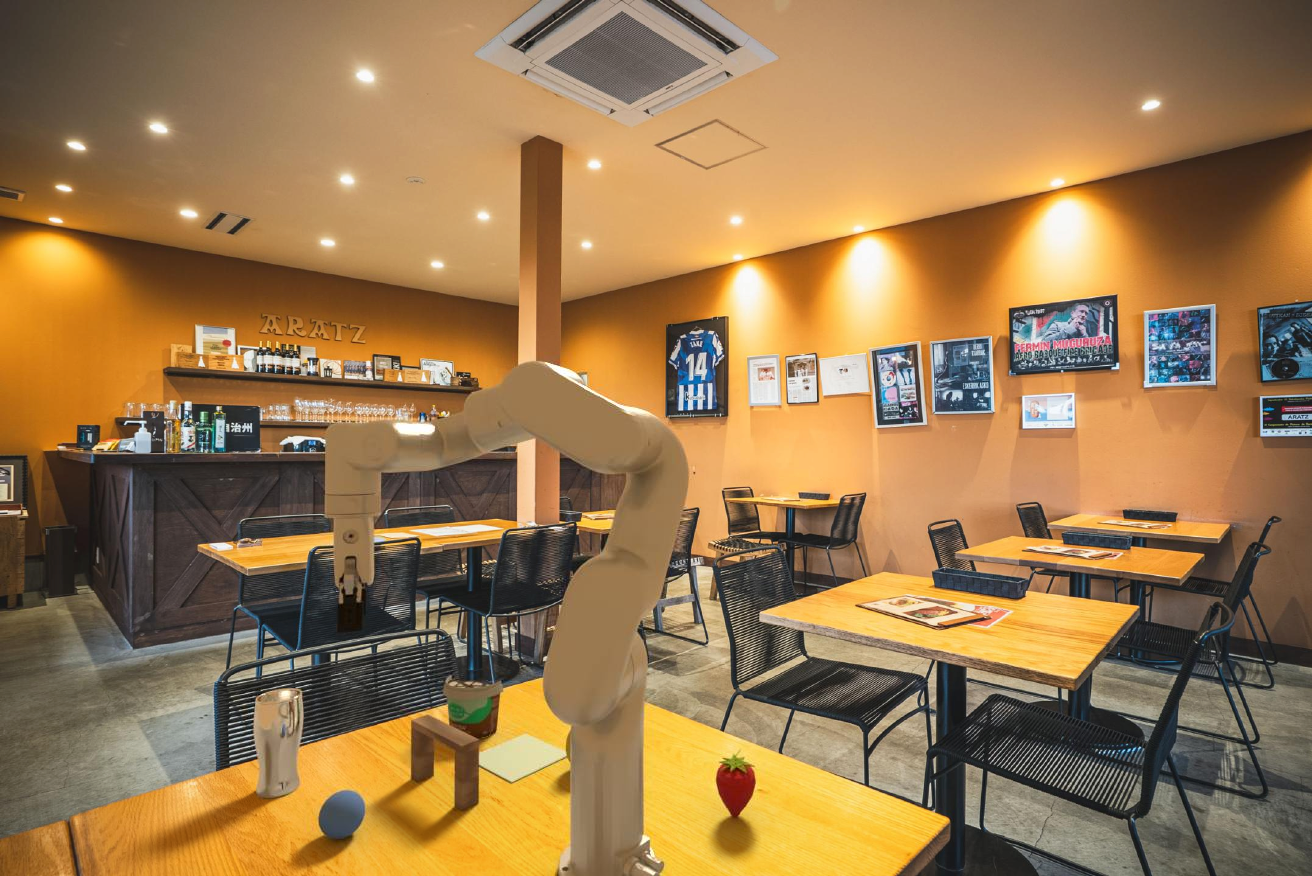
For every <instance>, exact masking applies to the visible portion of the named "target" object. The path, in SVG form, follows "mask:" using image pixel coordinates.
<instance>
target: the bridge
mask: <svg viewBox="0 0 1312 876" xmlns="http://www.w3.org/2000/svg"><path fill="white" fill-rule="evenodd" d="M410 722H411V723H410V724H411V725H410V753H411V754H410V779H411V781H413V782H414V783H420V781H421V782H423V781H425V780H427V779H430V778H431V777H432V776H433V777H434V776H435V741H436V742H438V743H440V744H442V745H444V746H445V747H448V748H449V749H451V750H453V751H454V790H453V791H454V799H453V801H454V808H456V809H457V810H460V811H461V812H462V811H465V810H468V809H470V808H471V807H473V806H475V805H477V804H480V766H479V753H480V739H477V738H475V737H473V736H471V735H469V734H467V733H465V732H463V731H461V730H458V729H456V728H454V727H452V726H450V725H449V723H446V722H444V721H442V720H440V719H438V718H436V717H434V716H431V715H429V714H425V715H422V716H419V717H416V718H413V719H411V721H410Z"/></svg>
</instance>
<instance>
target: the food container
mask: <svg viewBox="0 0 1312 876" xmlns="http://www.w3.org/2000/svg"><path fill="white" fill-rule="evenodd" d="M503 692H504V685H503V683H502V680H499V681H497V682H494V683H492V684H491V683H486V682H482V681H478V680H456V679H453V678H452V674H450V675H449V676H448V677H446V680H445V682H444V684H443V690H442V693H443V695H444V696H445V697H446V701H447V702H446V703H447V712H448V714H447V715H448V725H450V726H452V727H454V728H456V729H458V730H461V731H463V732H465V733H467V734H469V735H471V736H473V737H475V738H477V739H479V740H480V739H483V738H482V737H485V738H487V737H486V736H488V737H490V736H491V735H490V734H492V735H494V734H496V733H497V732H496V731H497V730H498V721H499V720H498V719H499V711H500V700H501V693H503ZM495 732H496V733H495ZM493 733H494V734H493ZM489 735H490V736H489Z"/></svg>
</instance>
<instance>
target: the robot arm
mask: <svg viewBox="0 0 1312 876" xmlns="http://www.w3.org/2000/svg"><path fill="white" fill-rule="evenodd" d="M324 439H325V445H324V446H325V450H324V452H325V453H324V454H325V455H324V458H325V459H324V461H325V462H324V463H325V464H324V465H325V467H324V468H325V469H324V473H325V474H324V475H325V476H324V478H325V479H324V518H327V519H333V571H334V583H335V584H334V585H335V587H337V588H339V595H338V603H337V622H336V623H337V624H336V625H337V626H336V627H337V632H338V633H339V634H340V633H341V634H343V633H350V632H351V633H352V632H360V631H362V630H363V628H364V615H366V613H367V587H366V584H367V586H371V585H372V584H373V583H374V577H375V523H374V517H378V516H381V515H382V512H381V511H382V473H391V474H392V473H405V472H406V473H407V472H425V471H426V472H427V471H433V470H437V469H441V468H445V467H448V466H451V465H456V464H459V463H463V462H467V461H470V460H472V459H475V458H477V457H480V456H483V455H487V454H489V453H490V452H493V451H496V450H499V449H502V448H506V447H509V446H512V445H516V444H520V443H523V442H527V441H530V440H534V439H537V440H539V441H540V442H542V443H544V444H546V445H547V446H549V447H550V448H551V449H552V448H553V450H556V452H557V451H558V453H561V454H563V455H564V456H565V457H567V458H569V459H570V460H572V461H574V462H576V463H578V464H579V465H581V466H582V467H585V468H587V469H589V470H591V471H594V472H596V473H599V474H604V475H618V474H619V475H620V474H625V477H626V479H625V486H624V488H623V492H622V494H621V496H620V498H619V501H618V502H617V505H616V508H615V511H614V514H613V519H612V524H611V527H610V531H609V533H608V535H607V536H608V537H607V539H606V542H605V545H604V547H603V549H602V551H601V552H600V553H599V554H597V555H595V556H593V557H591V558H590V559H588V560H586V562H584V563H583V564H582V565H580V566H579V567H578V569H577V570H576V571H575V573H574V574H573V575H572V577H571V579H570V581H569V583H568V584H567V585H568V586H567V588H566V590H565V593H564V596H563V600H562V602H561V606H560V609H559V613H558V616H557V620H556V624H555V627H554V630H553V635H552V638H551V641H550V645H549V648H548V652H547V655H546V658H545V663H544V668H543V672H542V673H543V674H542V689H543V690H542V691H543V697H544V700H545V702H546V704H547V706H548V708H549V710H550V711H551V712H552V714H553V715H554V716H555V717H556V718H557V719H558V720H559V721H561V722H562V723H563V724H566V725H569V726H570V730H571V749H570V762H569V763H570V764H569V765H570V767H569V768H570V769H569V771H570V773H569V775H570V777H569V778H570V782H569V783H570V799H569V800H570V803H569V806H570V816H569V817H570V819H569V820H570V822H569V823H570V824H569V825H570V827H569V828H570V830H569V831H570V833H569V834H570V838H569V839H570V844H569V845H568V846H567V847H566V848H565V849H564V850H563V851H562V853H561V854H560V857H559V860H558V867H557V869H558V876H661V875H660V874H661V873H662V872H663V871H664V867H665V862H664V861H663V860H661V859H660V858H658V857H656V854H655V851H654V850H653V848H652V846H651V838H650V837H648V836H647V835H645V834H644V832H645V830H644V829H645V828H644V827H645V825H644V824H645V823H644V821H645V820H644V819H645V818H644V817H645V814H644V812H645V810H644V809H645V808H644V806H645V805H644V803H645V802H644V797H645V795H644V794H645V793H644V792H645V791H644V789H645V788H644V782H645V781H644V743H645V741H644V739H645V737H644V736H645V735H644V733H645V728H644V727H645V701H646V692H647V691H646V690H647V683H648V669H649V668H648V666H649V665H648V663H649V662H648V652H647V649H646V645H645V643H644V639H642V637H641V635H640V634H639V632H638V629H639V627H640V624H641V621H642V620H644V619H645V618H646V617H647V616H648V615H649V614H651V612H652V611H653V610H654V609H655V608H656V607H657V604H658V603H659V601H660V599H661V596H662V595H663V594H662V593H663V588H664V586H665V585H664V584H665V580H666V576H667V572H668V569H669V565H670V561H671V558H672V554H673V551H674V546H675V543H676V539H677V535H678V530H679V526H680V523H681V519H682V516H683V514H684V513H683V512H684V508H685V505H686V500H687V496H688V490H689V482H690V481H689V480H690V479H689V478H690V473H689V472H690V470H689V463H688V458H687V455H686V451H685V449H684V447H683V445H682V442H681V441H680V439H679V438H678V436H677V435H676V434H675V432H674V431H673V429H671V427H670V426H669V425H667V423H665V422H664V421H663V420H662V419H660V418H659V417H657V416H656V415H654V414H653V413H651V412H649V411H646V410H643V409H640V408H637V407H633V406H632V407H631V406H626V405H621V404H618V403H616V402H614V401H612V400H611V399H609V398H607V397H605V396H604V395H601V394H599V393H597V392H595V391H594V390H591V389H590V388H588V386H587V384H586V383H585V381H584V380H583V378H581V376H579V374H578V373H576V372H574V371H573V370H570V369H568V368H565V367H562V366H559V365H555V364H552V363H549V362H547V361H546V362H545V361H542V360H531V361H527V362H526V361H524V362H523V363H520V364H518V365H516V366H514V367H513V368H512V369H511V370H510V371H508V372H507V373H506V375H505V376H504V378H503V379H502V382H501V383H500V384H497V385H493V386H489V387H487V388H486V387H485V388H483V389H479V390H477V391H473V392H472V393H469V395H468V396H467V397H466V399H465V401H464V403H463V411H460V412H458V413H455V414H452V415H449V416H445V417H442V418H438V419H434V420H431V421H417V420H415V421H414V420H401V419H400V420H396V419H377V420H373V421H367V422H334V423H331V424H330V425H329V426H328V427H327V428H326V431H325V438H324Z"/></svg>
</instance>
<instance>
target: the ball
mask: <svg viewBox="0 0 1312 876" xmlns="http://www.w3.org/2000/svg"><path fill="white" fill-rule="evenodd" d="M365 815H366V804H365V801H364V798H363V796H361V794H359V793H358V792H357V791H354V790H352V789H351V790H350V789H343V790H339V791H336V792H335V793H333V794H331V795H330V796H328V798H326V800H325V801H324V802H323V804H322V805H321V807H320V810H319V812H318V819H317V820H318V827H319V829H320V831H321V832H322V833H323V835H325V836H326V837H327V838H330V839H332V840H340V839H344V838H347V837H349V836H350V835H352V834H354V833H355V832H356V831H357V830H358V829H359V828H360V826H361V825H362V823H363V821H364V820H365Z"/></svg>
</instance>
